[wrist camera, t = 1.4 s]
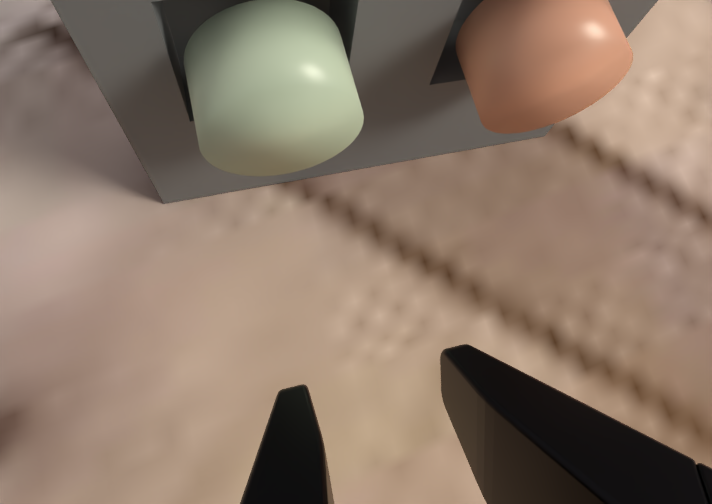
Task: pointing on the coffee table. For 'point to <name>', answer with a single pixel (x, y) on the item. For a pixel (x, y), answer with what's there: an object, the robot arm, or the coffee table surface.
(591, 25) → the terracotta button
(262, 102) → the sage button
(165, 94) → the console
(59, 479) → the coffee table surface
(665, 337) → the coffee table surface
